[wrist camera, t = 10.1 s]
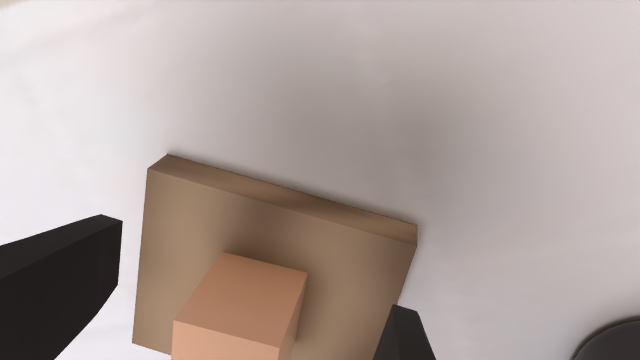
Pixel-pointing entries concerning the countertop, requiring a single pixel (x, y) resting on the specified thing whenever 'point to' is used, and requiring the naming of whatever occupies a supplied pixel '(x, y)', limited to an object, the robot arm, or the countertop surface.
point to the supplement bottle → (614, 344)
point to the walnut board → (269, 255)
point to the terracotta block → (240, 312)
